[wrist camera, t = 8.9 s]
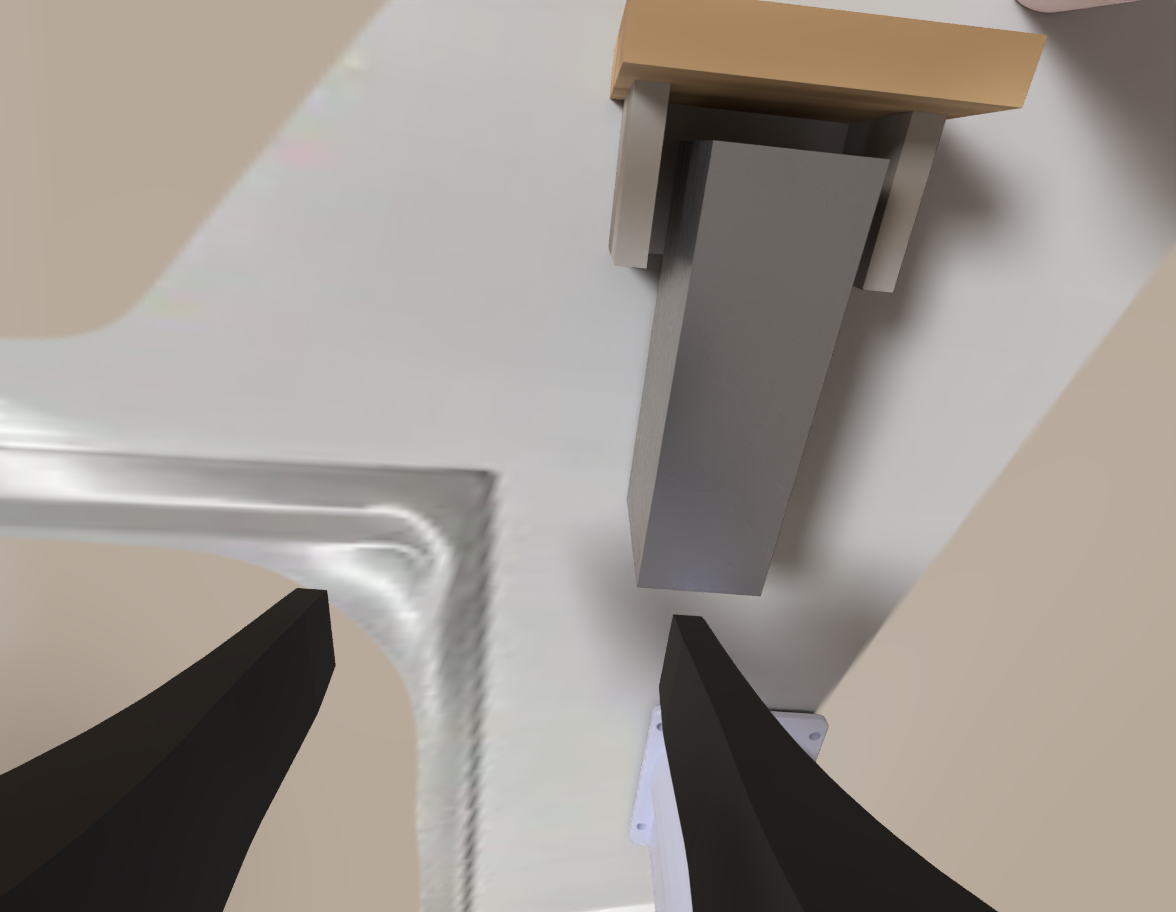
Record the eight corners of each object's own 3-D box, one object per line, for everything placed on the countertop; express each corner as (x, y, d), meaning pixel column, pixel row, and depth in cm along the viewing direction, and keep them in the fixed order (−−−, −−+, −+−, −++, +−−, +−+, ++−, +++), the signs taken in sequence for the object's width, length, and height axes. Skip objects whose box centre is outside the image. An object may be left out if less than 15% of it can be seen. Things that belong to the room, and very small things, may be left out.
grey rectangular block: (680, 140, 17) (713, 139, 12) (811, 154, 17) (890, 159, 13) (627, 499, 22) (636, 587, 18) (726, 507, 23) (760, 596, 18)
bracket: (845, 271, 19) (951, 309, 14) (595, 246, 19) (601, 275, 13) (897, 80, 17) (1047, 35, 11) (614, 48, 16) (630, -15, 11)
